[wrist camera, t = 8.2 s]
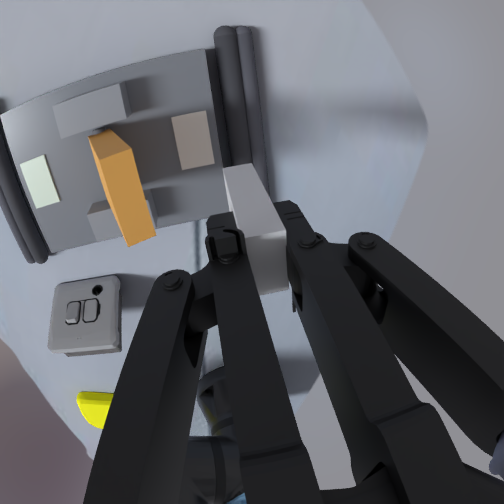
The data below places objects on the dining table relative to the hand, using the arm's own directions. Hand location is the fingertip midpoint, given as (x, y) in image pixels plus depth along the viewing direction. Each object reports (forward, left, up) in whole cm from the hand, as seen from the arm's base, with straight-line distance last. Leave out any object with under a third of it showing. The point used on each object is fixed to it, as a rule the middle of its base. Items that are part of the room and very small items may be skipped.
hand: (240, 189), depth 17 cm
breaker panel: (0, +10, -16) cm, 19 cm away
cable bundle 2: (0, -2, -16) cm, 16 cm away
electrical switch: (-17, +19, -16) cm, 30 cm away
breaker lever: (0, +10, -12) cm, 16 cm away
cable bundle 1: (0, +23, -16) cm, 28 cm away
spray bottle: (-52, +33, -17) cm, 63 cm away
